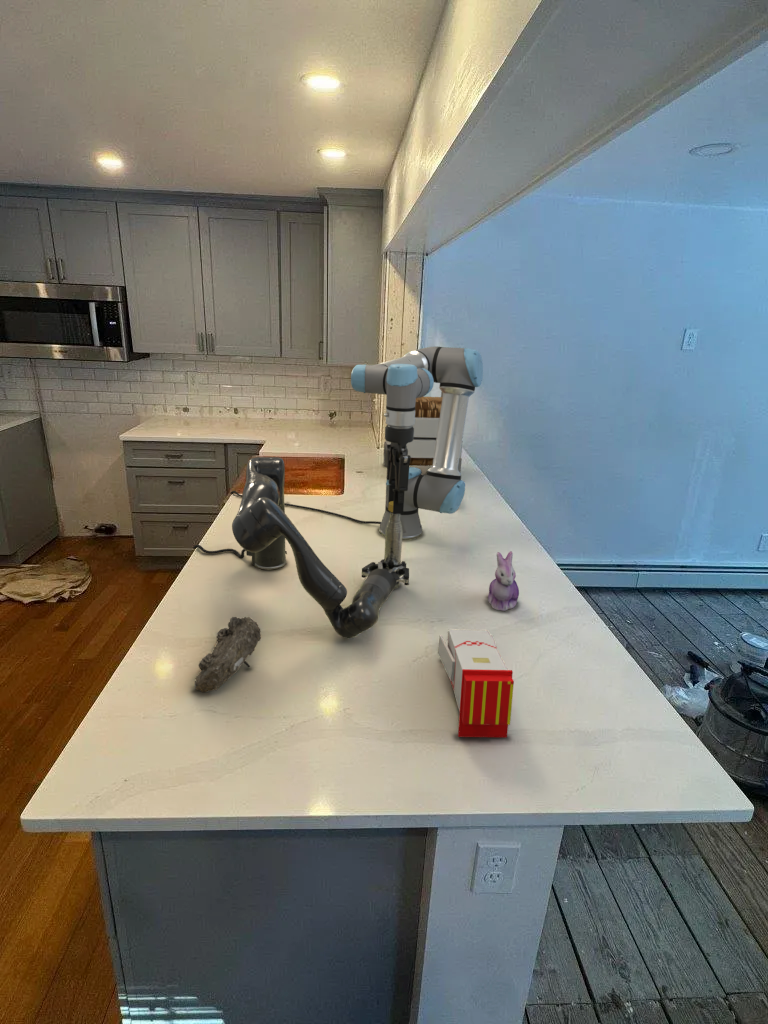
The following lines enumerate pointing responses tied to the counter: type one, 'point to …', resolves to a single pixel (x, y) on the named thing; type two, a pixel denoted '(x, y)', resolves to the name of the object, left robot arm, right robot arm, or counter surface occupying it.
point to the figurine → (503, 584)
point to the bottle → (393, 543)
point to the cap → (390, 506)
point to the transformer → (424, 432)
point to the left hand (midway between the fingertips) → (394, 562)
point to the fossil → (228, 653)
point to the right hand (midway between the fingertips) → (395, 510)
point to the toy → (478, 682)
